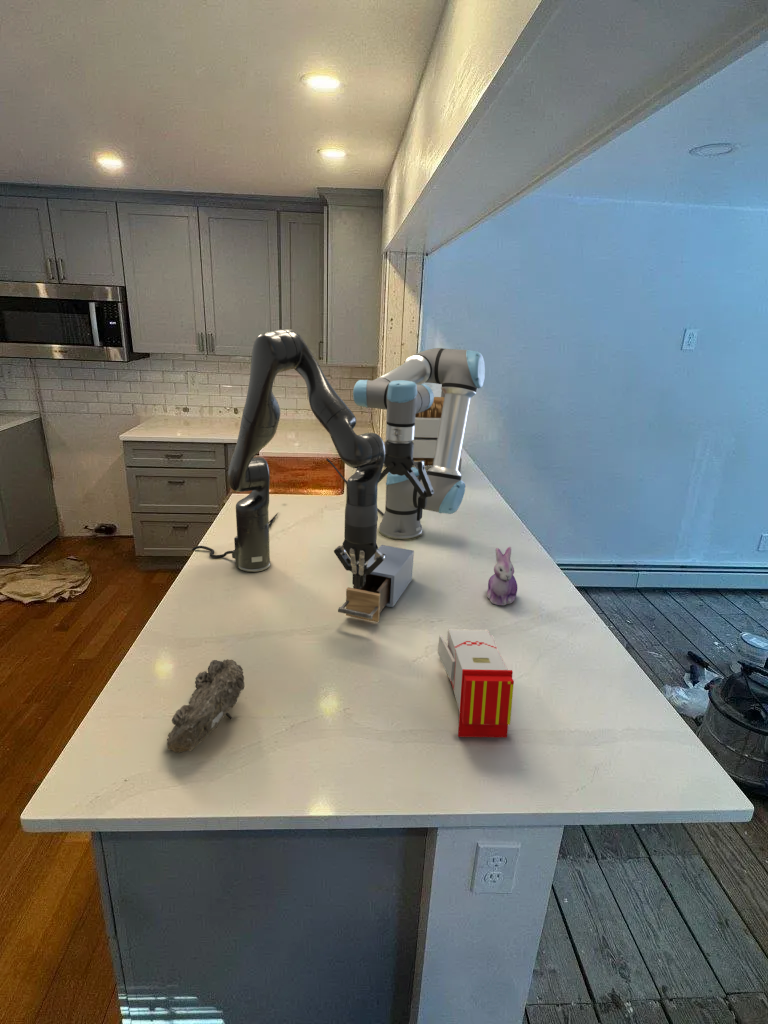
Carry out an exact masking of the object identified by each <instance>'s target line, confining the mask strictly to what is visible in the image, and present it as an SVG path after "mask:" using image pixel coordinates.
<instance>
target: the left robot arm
mask: <svg viewBox="0 0 768 1024" xmlns="http://www.w3.org/2000/svg"><path fill="white" fill-rule="evenodd" d="M250 362H251V363H250V372H249V381H248V388H247V393H246V398H245V403H244V406H243V411H242V414H241V415H242V416H241V420H240V426H239V432H238V436H237V440H236V444H235V447H234V451H233V453H232V456H231V458H230V460H229V465H228V470H227V481H228V485H229V487H230V488H231V489H232V491H234V492H237V493H244V492H250V493H249V494H248V495H247V496H245V497H243V498H242V499H239V500H238V501H237V502H236V504H235V519H236V520H235V521H236V536H235V537H234V538H233V539H234V549H233V550H227V551H224V553H222V554H214V553H215V549H213V548H211V547H209V546H205V545H195V546H194V547H192V548H191V551H196V550H198V549H202V550H206V551H209V552H210V553H209V557H211V558H214V559H220V558H224V557H226V556H227V555H230V554H231V557H232V559H235V560H234V562H235V568H238V569H239V570H241V571H243V572H247V573H257V572H263V571H265V570H267V569H269V568H270V566H271V555H270V554H271V553H270V552H271V551H270V549H271V548H270V527H269V524H270V523H269V521H270V519H269V515H270V514H269V507H270V506H269V505H270V485H271V484H270V483H271V476H270V475H271V474H270V468H269V463H268V461H267V460H266V459H265V458H264V457H261V456H257V457H255V456H256V455H258V453H259V452H261V450H263V449H264V448H265V447H266V446H267V445H268V444H270V442H271V441H272V440H273V438H274V437H275V435H276V433H277V430H278V426H279V423H280V419H281V408H280V405H279V402H278V400H277V398H276V396H275V395H274V393H273V387H274V383H275V378H276V377H277V375H278V374H279V373H282V372H286V371H290V370H294V371H295V372H297V373H298V374H299V375H300V376H301V378H302V379H303V380H304V383H305V385H306V390H307V398H308V404H309V406H310V407H309V408H310V410H311V412H312V413H313V415H314V417H315V418H316V419H317V421H318V422H319V423H320V424H321V426H322V427H323V428H324V429H325V430H326V432H327V433H328V434H329V436H330V439H331V441H332V444H333V446H334V448H335V450H336V452H337V454H338V457H339V458H340V459H341V461H342V462H343V463H344V464H345V465H346V466H348V467H349V468H351V469H355V472H354V473H353V474H352V475H351V476H349V478H348V479H347V480H346V481H347V484H346V494H345V496H346V498H345V507H344V508H345V509H344V535H343V536H344V540H343V542H342V545H338V546H337V547H335V549H334V550H333V552H334V554H335V556H336V558H337V559H338V560H339V561H340V564H341V565H342V567H343V568H344V569H345V570H346V571H347V572H348V571H350V572H351V574H352V586H354V587H355V588H358V589H361V588H362V587H363V586H364V585H365V582H366V574H368V575H369V574H370V573H371V572H372V571H373V570H374V569H375V568H377V567H378V566H379V565H380V564H381V563H382V562H383V560H384V559H385V558H386V555H385V554H381V553H380V552H379V551H378V548H379V546H378V543H377V538H378V537H377V536H378V521H379V519H378V518H379V517H378V513H379V512H378V510H377V508H378V484H379V483H378V481H379V478H380V475H381V473H382V471H383V467H384V460H385V445H384V442H385V441H384V440H383V439H382V437H381V436H380V435H379V434H378V433H376V432H365V433H361V434H357V433H356V432H355V431H354V429H355V427H356V425H357V418H356V416H355V414H354V413H353V412H352V410H351V409H350V408H349V407H348V406H347V404H346V403H345V402H344V400H342V398H341V397H340V396H339V395H338V393H337V392H336V391H335V389H334V388H333V387H332V385H331V384H330V382H329V380H328V378H327V377H326V375H325V374H324V371H323V370H322V368H321V366H320V365H319V363H318V361H317V360H316V357H315V356H314V355H313V353H312V352H311V350H310V347H308V344H307V343H306V341H305V340H304V339H303V337H302V336H301V335H300V334H299V333H298V332H297V331H296V330H294V329H292V328H281V329H276V330H271V331H266V332H262V333H260V334H259V335H258V336H256V338H255V340H254V342H253V346H252V352H251V359H250ZM374 554H375V557H374V560H375V562H374V563H373V564H372V565H371V566H370V567H367V565H368V561H369V559H370V558H371V557H372V556H373V555H374Z"/></svg>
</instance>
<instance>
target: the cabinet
mask: <svg viewBox="0 0 768 1024" xmlns="http://www.w3.org/2000/svg"><path fill="white" fill-rule="evenodd" d="M378 551H379V552H380V553H381V554H385V555H386V558H385V559H384V560H383V562H382V563H381V564H380V565H379V566H378V567H377V568H375V569H374V570H373V571H372V572H371V573H370V574H373V575H378V576H383V577H388V578H391V592H390V600H389V601H388V603H387V604H386V606H385V607H389V608H394V606H395V605H396V603H397V602H398V601H399V599H400V598H401V596H403V593H404V592H405V591H406V589H407V587H408V586H409V585H410V583H411V582H412V580H413V569H414V555H415V550H413V549H407V548H401V547H397V546H390V545H384V544H381V545H379V546H378ZM374 557H375V554H374V555H373V556H372V557H371V558H370V559H369V561H368V565H367V567H370V566H371V565H372V564H373V563H374V562H375V560H374Z"/></svg>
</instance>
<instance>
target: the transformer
mask: <svg viewBox="0 0 768 1024" xmlns="http://www.w3.org/2000/svg"><path fill="white" fill-rule="evenodd" d="M440 393H441V394H440V396H434V401H433V403H432V405H431V407H430V408H428V409H427V410H425V411H424V412H421V413H417V414H415V430H414V440H413V441H412V442H413V443H414V447H413V460H414V461H421V460H424V466H425V467H432V466H433V461H434V455H435V449H436V443H437V438H438V432H439V426H440V420H441V414H442V408H443V402H444V397H445V394H444V392H443V391H442V390H441V392H440ZM385 414H386V415H385V423H386V424H387V411H386V413H385ZM386 441H387V439H386V437H385V438H384V441H383V442H384V445H385V444H386ZM462 453H463V448H462V449H461V455H460V461H459V467H458V471H459V472H460V474H461V475H462V473H461V472H462V461H463V460H462ZM383 467H386V466H385V464H383ZM413 467H415V466H414V465H413Z"/></svg>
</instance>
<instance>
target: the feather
mask: <svg viewBox="0 0 768 1024" xmlns="http://www.w3.org/2000/svg"><path fill="white" fill-rule="evenodd" d="M278 513H279V512H277V513H276V514H275V515H274V516H273V517H272V518H271V519H269V528H271V526H272V524H273V523H274V521H275V520H276V517H277V516H278Z"/></svg>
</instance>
